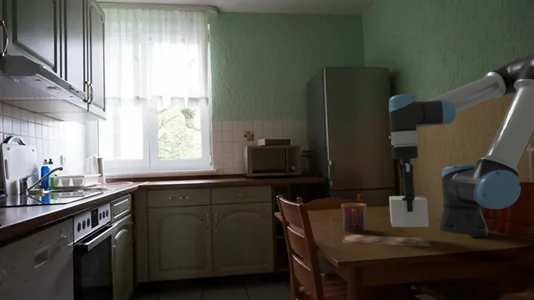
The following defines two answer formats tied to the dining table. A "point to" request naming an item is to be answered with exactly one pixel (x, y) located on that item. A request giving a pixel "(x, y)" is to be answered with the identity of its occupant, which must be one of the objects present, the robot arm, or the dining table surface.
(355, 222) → the mug
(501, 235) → the dining table surface
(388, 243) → the board
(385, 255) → the dining table surface
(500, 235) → the dining table surface
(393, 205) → the white rectangular block
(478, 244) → the dining table surface
